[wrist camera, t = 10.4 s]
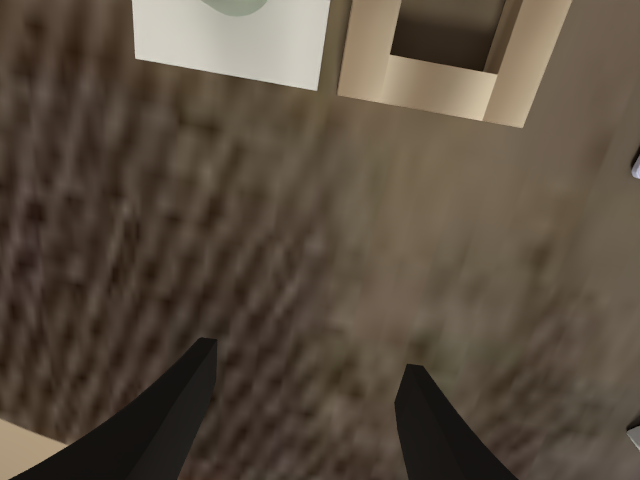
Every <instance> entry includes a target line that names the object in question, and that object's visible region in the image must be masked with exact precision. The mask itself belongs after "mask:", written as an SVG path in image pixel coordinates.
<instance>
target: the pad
mask: <svg viewBox="0 0 640 480" xmlns="http://www.w3.org/2000/svg"><path fill="white" fill-rule="evenodd" d="M132 3H133V22H134V41H135V58H136V59H141V60H147V61H153V62H158V63H164V64H169V65H175V66H181V67H186V68H192V69H198V70H203V71H209V72H214V73H220V74H226V75H231V76H237V77H242V78H248V79H254V80H259V81H265V82H270V83H276V84H282V85H287V86H293V87H298V88H304V89H310V90H315V91H317V89H318V82H319V75H320V68H321V61H322V54H323V48H324V41H325V34H326V27H327V20H328V14H329V7H330V0H267V2H266V3H265V4H264V5H263V6H262V7H261V8H260V9H259V10H257V11H256V12H254V13H252V14H249V15H246V16H238V17H235V16H229V15H225V14H223V13H220V12H218V11H217V10H215V9H213V8H212V7H210V6H209V5H207V4H205V3H204V2H202V1H201V0H132Z"/></svg>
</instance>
